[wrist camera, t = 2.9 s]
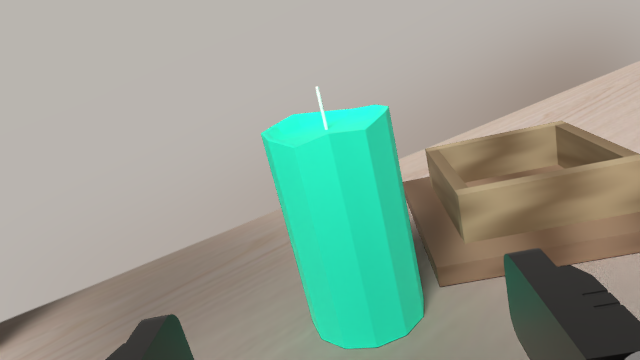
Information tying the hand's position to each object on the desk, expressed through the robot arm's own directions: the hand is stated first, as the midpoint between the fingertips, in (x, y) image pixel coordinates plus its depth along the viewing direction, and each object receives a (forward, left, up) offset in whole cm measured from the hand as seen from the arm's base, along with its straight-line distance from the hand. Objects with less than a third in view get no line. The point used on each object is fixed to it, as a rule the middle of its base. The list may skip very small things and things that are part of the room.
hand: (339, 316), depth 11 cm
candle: (0, +11, -8) cm, 14 cm away
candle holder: (+11, +19, -8) cm, 24 cm away
